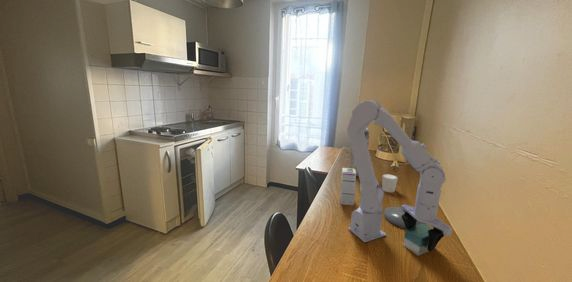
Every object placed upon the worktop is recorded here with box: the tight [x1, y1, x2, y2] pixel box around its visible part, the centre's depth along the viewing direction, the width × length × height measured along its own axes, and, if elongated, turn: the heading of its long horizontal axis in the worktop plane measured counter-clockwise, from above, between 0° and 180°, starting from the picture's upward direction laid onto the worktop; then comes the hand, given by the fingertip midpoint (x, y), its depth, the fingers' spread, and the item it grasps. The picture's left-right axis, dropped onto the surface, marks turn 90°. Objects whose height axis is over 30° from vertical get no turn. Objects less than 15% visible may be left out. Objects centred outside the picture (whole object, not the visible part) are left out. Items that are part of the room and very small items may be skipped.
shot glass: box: [381, 173, 398, 193], centre depth 109 cm, size 7×7×7 cm
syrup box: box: [339, 167, 357, 206], centre depth 96 cm, size 6×6×14 cm
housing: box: [403, 223, 437, 256], centre depth 69 cm, size 8×5×6 cm, turn 115°
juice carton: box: [349, 127, 370, 177], centre depth 128 cm, size 9×10×27 cm
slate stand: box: [383, 206, 422, 230], centre depth 85 cm, size 13×13×2 cm
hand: (419, 242), depth 70 cm, fingers open, 6 cm apart
